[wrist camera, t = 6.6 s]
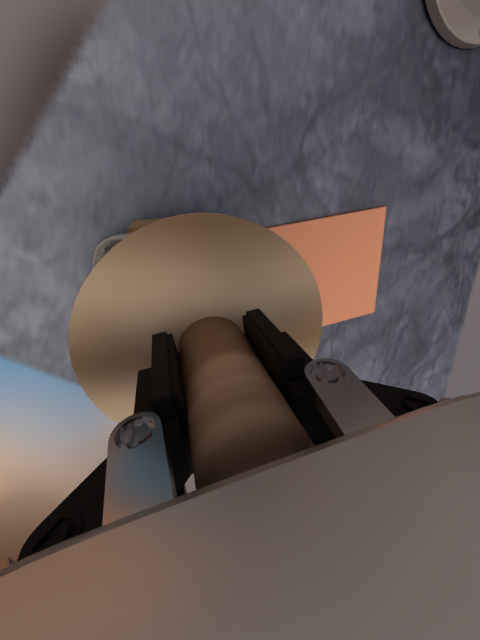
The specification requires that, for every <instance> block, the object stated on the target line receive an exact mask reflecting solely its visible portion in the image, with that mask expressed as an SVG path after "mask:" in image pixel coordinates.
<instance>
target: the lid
mask: <svg viewBox="0 0 480 640" xmlns="http://www.w3.org/2000/svg"><path fill="white" fill-rule="evenodd" d="M258 308H259V309H260V310H261V311H262V312H263V313H264V314H265V315H266V316H267V318H268V319H269V320H270V321H271V322H272V323H273V324H274V325H275V326H276V327H277V328H278V330H279V331H280V332H284V331H285V332H287V333H288V334H289V335H290V336H291V337H292V338H293V339H294V340H295V341H296V342H297V343H298V345H299V346H300V347H301V348H302V349H303V350H304V351H305V352H306V353H307V354H308V355H309V356H310V357H311V358H312V359H314V357H315V355H316V352H317V349H318V346H319V342H320V337H321V332H322V321H323V314H322V302H321V297H320V292H319V289H318V286H317V283H316V280H315V278H314V276H313V274H312V272H311V270H310V268H309V266H308V265H307V263H306V262H305V261H304V259H303V258H302V256H301V255H300V254H299V253H298V252H297V251H296V250H295V249H294V248H293V247H292V246H291V245H290V244H289V243H288V242H287V241H286V240H284V239H283V238H282V237H280V236H279V235H278V234H276V233H275V232H273V231H271V230H269V229H267V228H265V227H263V226H262V225H260V224H257V223H254V222H251V221H248V220H245V219H242V218H238V217H234V216H229V215H224V214H219V213H189V214H180V215H176V216H172V217H167V218H163V219H160V220H158V221H155V222H153V223H150V224H148V225H145V226H143V227H141V228H140V229H138V230H136V231H134V232H133V233H131V234H129V235H128V236H126V237H125V238H124V239H122V240H121V241H120V242H119V243H117V244H116V245H115V246H114V247H112V248H111V249H110V251H109V252H108V253H107V254H106V255H105V256H104V257H103V258H102V259H101V260H100V261H99V262H98V263H97V265H96V266H95V267H94V268H93V270H92V271H91V273H90V274H89V276H88V277H87V279H86V280H85V281H84V283H83V285H82V287H81V289H80V291H79V293H78V295H77V297H76V300H75V302H74V306H73V310H72V313H71V317H70V323H69V333H68V341H69V354H70V358H71V362H72V366H73V370H74V372H75V374H76V377H77V379H78V381H79V383H80V385H81V387H82V388H83V390H84V391H85V393H86V394H87V396H88V397H89V398H90V400H91V401H92V402H93V403H94V404H95V405H96V406H97V407H98V408H99V409H100V410H101V411H102V412H103V413H105V414H106V415H107V416H108V417H110V418H111V419H112V420H114V421H115V422H117V423H120V422H121V421H123V420H124V419H125V418H127V417H129V416H131V415H133V414H134V405H135V395H136V385H137V376H138V371H139V370H143V369H146V368H150V367H151V355H152V335H153V334H157V333H161V332H165V331H166V332H167V334H171V333H172V335H173V338H174V341H175V345H176V348H177V352H178V356H179V363H180V370H181V378H182V385H183V392H184V399H185V406H186V413H187V420H188V434H189V442H190V449H191V456H192V464H193V471H194V478H195V485H196V490H198V489H200V488H203V487H206V486H208V485H211V484H214V483H216V482H219V481H222V480H224V479H227V478H230V477H233V476H235V475H238V474H241V473H243V472H246V471H249V470H251V469H254V468H257V467H260V466H262V465H265V464H268V463H270V462H273V461H276V460H279V459H281V458H284V457H287V456H289V455H292V454H295V453H298V452H300V451H303V450H306V449H308V448H311V447H312V444H311V440H310V438H309V436H308V435H307V433H306V432H305V430H304V428H303V427H302V425H301V424H300V422H299V421H298V419H297V417H296V416H295V414H294V413H293V411H292V410H291V408H290V406H289V405H288V403H287V402H286V400H285V399H284V397H283V395H282V394H281V392H280V391H279V389H278V388H277V386H276V384H275V383H274V381H273V380H272V378H271V377H270V375H269V373H268V372H267V370H266V369H265V367H264V366H263V364H262V362H261V361H260V359H259V358H258V356H257V355H256V353H255V351H254V350H253V348H252V347H251V345H250V344H249V342H248V340H247V339H246V337H245V334H244V327H243V320H242V316H243V315H246V311H250V310H254V309H258Z"/></svg>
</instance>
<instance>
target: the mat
mask: <svg viewBox="0 0 480 640" xmlns="http://www.w3.org/2000/svg"><path fill="white" fill-rule="evenodd" d="M385 215H386V207H384V206H382V207H376V208H371V209H365V210H360V211H354V212H349V213H344V214H338V215H333V216H327V217H322V218H316V219H311V220H306V221H300V222H295V223H289V224H284V225H278V226H273V227H268V228H267V229H269V230H271V231H273V232H275V233H276V234H278V235H279V236H280V237H282V238H283V239H284V240H286V241H287V242H288V243H289V244H290V245H291V246H292V247H293V248H294V249H295V250H296V251H297V252H298V253H299V254H300V255H301V256H302V258H303V259H304V261H305V262H306V263H307V265H308V266H309V268H310V270H311V272H312V274H313V276H314V278H315V280H316V283H317V286H318V289H319V292H320V297H321V302H322V314H323V321H322V326H325V325H329V324H333V323H337V322H340V321H344V320H348V319H351V318H355V317H359V316H363V315H366V314H370V313H374V310H375V302H376V293H377V284H378V276H379V267H380V258H381V250H382V241H383V232H384V224H385Z"/></svg>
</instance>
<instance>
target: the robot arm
mask: <svg viewBox="0 0 480 640" xmlns="http://www.w3.org/2000/svg"><path fill="white" fill-rule="evenodd" d="M425 2H426V6H427V11H428V13H429V15H430V18H431V20H432V23H433V25H434V27H435V28H436V30H437V31H438V32H439V34H440V35H441V37H442V38H443V39H445V40H446V41H447V42H448V43H449V44H451V45H453V46H456V47H458V48H461V49H473V48H476V47H480V0H425ZM242 320H243V327H244V334H245V337H246V339H247V340H248V342H249V344H250V345H251V347H252V348H253V350H254V351H255V353H256V355H257V356H258V358H259V359H260V361H261V362H262V364H263V366H264V367H265V369H266V370H267V372H268V373H269V375H270V377H271V378H272V380H273V381H274V383H275V384H276V386H277V388H278V389H279V391H280V392H281V394H282V395H283V397H284V399H285V400H286V402H287V403H288V405H289V406H290V408H291V410H292V411H293V413H294V414H295V416H296V417H297V419H298V421H299V422H300V424H301V425H302V427H303V428H304V430H305V432H306V433H307V435H308V436H309V438H310V440H311V444H312V447H311V448H308V449H306V450H303V451H300V452H298V453H295V454H292V455H289V456H287V457H284V458H281V459H279V460H276V461H273V462H270V463H268V464H265V465H262V466H260V467H257V468H254V469H251V470H249V471H246V472H243V473H241V474H238V475H235V476H233V477H230V478H227V479H224V480H222V481H219V482H216V483H214V484H211V485H208V486H206V487H203V488H200V489H198V490H195V491H192V492H190V493H187V489H186V486H185V483H186V481H187V480H188V478H189V477H190V475H191V474H193V473H194V471H193V464H192V456H191V449H190V442H189V434H188V420H187V413H186V406H185V399H184V392H183V385H182V378H181V370H180V363H179V356H178V352H177V348H176V345H175V341H174V338H173V335H172V333H171V334H167V332H166V331H165V332H161V333H157V334H153V335H152V355H151V367H150V368H146V369H143V370H139V371H138V376H137V385H136V395H135V405H134V414H133V415H131V416H129V417H127V418H125V419H124V420H123V421H121V422H120V423H119V424H118V425H117V426H116V427H115V428H114V430H113V431H112V433H111V434H110V437H109V441H108V455H107V458H106V459H105V460H104V461H103V462H102V463H101V464H100V465H99V466H98V467H97V468H96V469H95V470H94V471H93V472H92V473H91V474H90V475H89V476H88V477H87V478H86V479H85V480H84V481H83V482H82V483H81V484H80V485H79V486H78V487H77V488H76V489H75V490H74V491H73V492H72V493H71V494H70V495H69V496H68V497H67V498H66V499H65V500H64V501H63V502H62V503H61V504H60V505H59V506H58V507H57V508H56V509H55V510H54V511H53V512H52V513H51V514H50V515H49V516H48V517H47V518H46V519H45V520H44V521H43V522H42V523H41V524H40V525H39V526H38V527H37V528H36V529H35V530H34V531H33V533H32V534H31V535H30V536H29V537H28V539H27V541H26V542H25V544H24V545H23V547H22V549H21V552H20V554H19V555H18V556H17V557H16V558H14V559H13V560H12V559H11V558H10V557H7V558H6V559H4V560H3V561H2V562H0V640H480V392H478V393H473V394H468V395H463V396H459V397H455V398H452V399H450V398H440V399H439V402H438V401H437V400H435V399H434V398H432V397H430V396H428V395H426V394H423V393H420V392H416V391H411V390H407V389H402V388H397V387H392V386H387V385H383V384H378V383H373V382H368V381H363V380H360V379H359V378H358V377H357V376H356V375H355V374H354V373H353V372H352V371H351V369H350V368H349V367H348V366H346V365H345V364H344V363H342V362H340V361H338V360H334V359H329V358H322V359H316V360H313V359H312V358H311V357H310V356H309V355H308V354H307V353H306V352H305V351H304V350H303V349H302V348H301V347H300V346H299V345H298V343H297V342H296V341H295V340H294V339H293V338H292V337H291V336H290V335H289V334H288V333H287V332H285V331H284V332H280V331H279V330H278V328H277V327H276V326H275V325H274V324H273V323H272V322H271V321H270V320H269V319H268V318H267V316H266V315H265V314H264V313H263V312H262V311H261V310H260V309H259V308H258V309H254V310H250V311H246V315H243V316H242Z"/></svg>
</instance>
